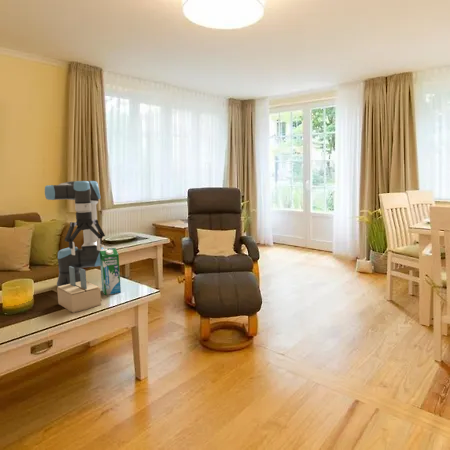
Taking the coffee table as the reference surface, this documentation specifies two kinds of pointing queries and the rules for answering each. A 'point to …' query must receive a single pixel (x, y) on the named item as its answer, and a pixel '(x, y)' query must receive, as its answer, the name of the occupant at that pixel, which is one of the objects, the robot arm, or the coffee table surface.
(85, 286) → the flap
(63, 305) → the carton box
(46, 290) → the coffee table surface
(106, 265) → the milk carton
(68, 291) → the flap
